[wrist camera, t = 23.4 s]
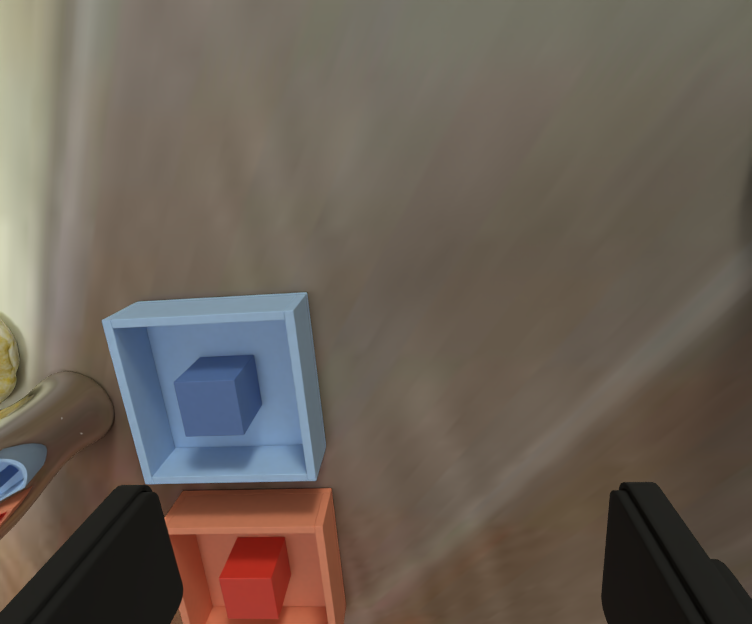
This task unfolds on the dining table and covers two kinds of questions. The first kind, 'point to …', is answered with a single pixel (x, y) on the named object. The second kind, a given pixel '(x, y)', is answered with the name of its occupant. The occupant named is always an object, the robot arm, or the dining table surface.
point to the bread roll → (7, 361)
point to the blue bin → (208, 339)
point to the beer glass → (46, 437)
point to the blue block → (218, 395)
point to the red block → (255, 578)
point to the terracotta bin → (258, 519)
